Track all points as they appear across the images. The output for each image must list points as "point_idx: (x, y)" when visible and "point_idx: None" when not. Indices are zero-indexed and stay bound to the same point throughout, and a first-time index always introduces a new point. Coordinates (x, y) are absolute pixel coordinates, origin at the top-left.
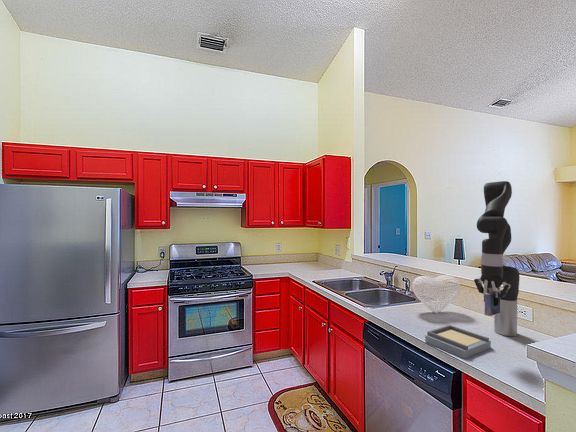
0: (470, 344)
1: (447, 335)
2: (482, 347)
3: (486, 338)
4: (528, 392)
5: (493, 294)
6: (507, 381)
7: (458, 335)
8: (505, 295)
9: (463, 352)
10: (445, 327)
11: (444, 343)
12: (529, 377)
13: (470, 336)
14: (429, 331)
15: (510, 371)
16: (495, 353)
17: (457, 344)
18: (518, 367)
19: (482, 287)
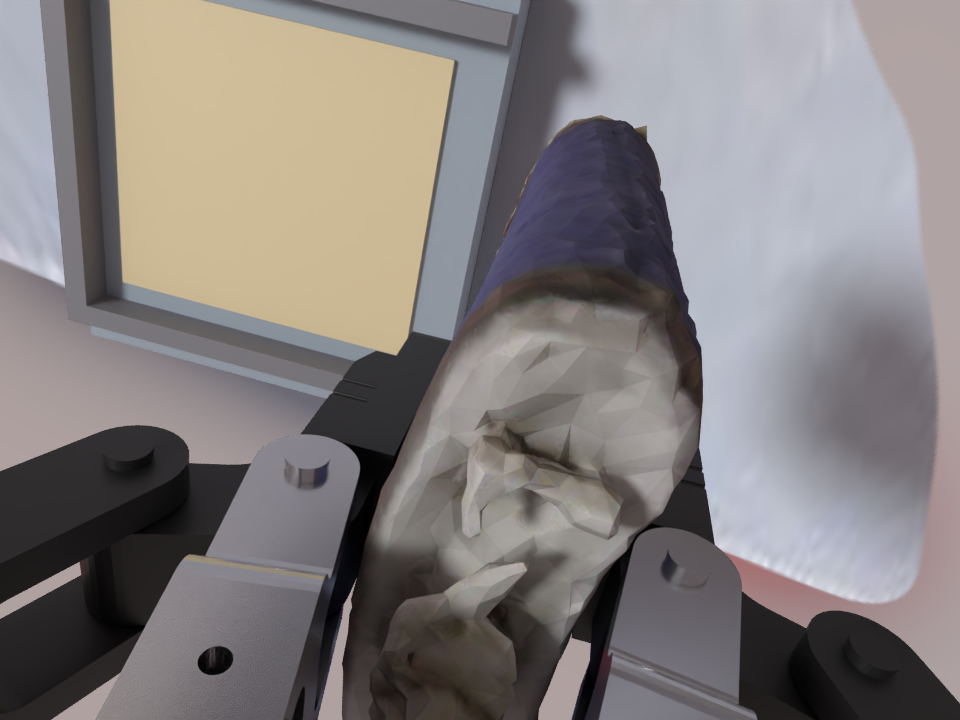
0: (417, 268)
1: (189, 200)
2: (495, 147)
3: (493, 42)
4: (858, 588)
5: (538, 695)
6: (743, 536)
7: (246, 110)
8: (920, 685)
9: None
10: (69, 50)
11: (267, 381)
12: (878, 395)
13: (329, 15)
14: (74, 303)
15: (751, 388)
16: (604, 103)
17: None
18: (805, 273)
19: (30, 581)
